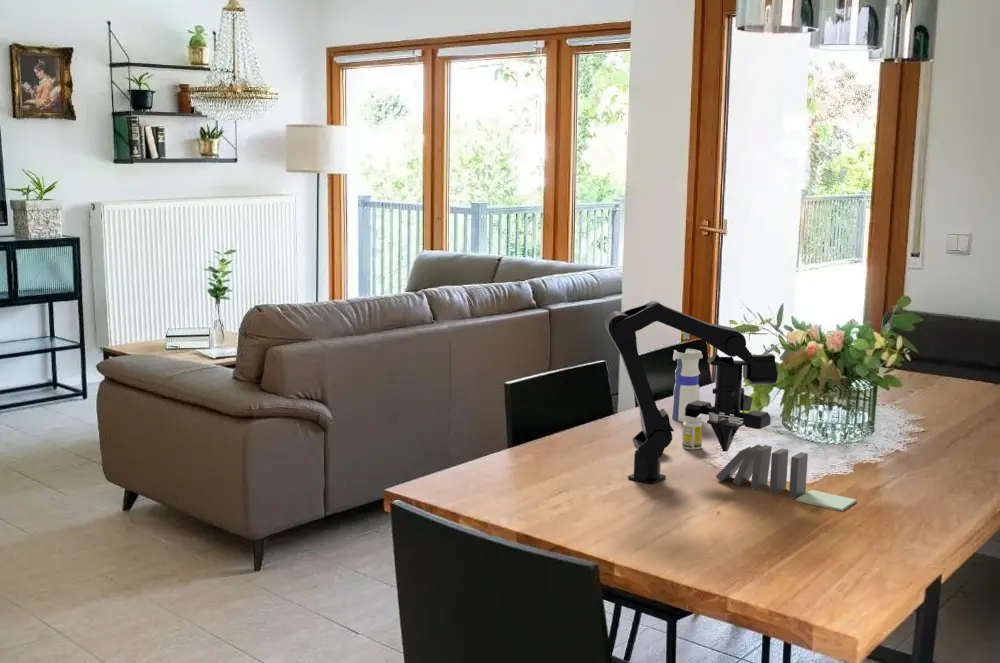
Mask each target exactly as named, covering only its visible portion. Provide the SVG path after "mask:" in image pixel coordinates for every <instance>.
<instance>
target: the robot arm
mask: <svg viewBox="0 0 1000 663" xmlns="http://www.w3.org/2000/svg"><path fill="white" fill-rule="evenodd" d="M656 322H659V323H661V324H664V325H666V326H669V327H671V328H673V329H676V330H679V331H681V332H685V333H688V334H690V335H691V336H693V337H696V338H698V339H700V340H703V341H704V342H706V343H708V345H711V346H712V347H714V348H715V349H717V350H718V351H720V352H721V353H723V354H725V355H726V356H719V354H718V353H716V352H714V353H713V355H712V356H710V357H709V358H708V359H707V363H708V364H709V365H711V366H716V368H715V370H716V372H715V387H714V388H712V394H714V405H713V406H712V404H711V402H709V401H702V400H699V401H698V400H697V401H694V402H691V403H689V404H687V405H686V407H685V416H689V417H694V418H696V417H698V416H699V415H706V416H708V420H707V421H706V424H709V425H710V427H711V428H712V430H713V432H714V434H715V436H716V438H717V441H718V443H719V446H720V448H721V450H722V452H725V453H727V452H728V451H729V449H730V447H731V444H732V442H733V440H734V438H735V435H736V434H737V432H738V430H739V429H740V427H743V426H745V427H746V428H749V429H755V430H761V429H764V428H766V427H768V426H770V425H771V423H772V422H771V421H772V420H771V419H772V418H771V415H770V414H769V412H767V411H761V410H755V409H754V410H751V409H752V403H753V399H754V398H753V397H752V396H750V395H747V394H745V388H744V387H742V383H743V379H744V380H745V381H747V383H748V385H776V384H777V381H778V377H779V376H778V374H779V373H778V367H777V363H776V355H775V354H773V353H766V354H752V352H750V351H749V349H748V348H747V340H746V337H745V335H743V333H741V332H739V331H738V330H737V329H735V328H733V327H732V326H726V325H721V324H715V323H709V322H706V321H703V320H700V319H698V318H696V317H693V316H690V315H688V314H685V313H683V312H681V311H678V310H675V309H673V308H670V307H669V306H666V305H664V304H662V303H660V302H659V301H656V300H651V301H649V302H648V303H645V304H642V305H639V306H637V307H636V306H635V307H633V308H630V309H627V310H624V311H621V310H616V311H612V312H610V313H609V314H608V315H607V317H606V319H605V321H604V326H605V329H606V331H607V333H608V335H609V337H610V339H611V340H612V343H613V344H614V345H615V347H616V349H617V350H618V352H619V354H620V357H621V359H622V362H623V365H624V368H625V371H626V375H627V376H628V380H629V383H630V386H631V388H632V391H633V393H634V396H635V399H636V403H637V404H638V405H637V406H638V407H639V408H638V409H639V415H640V416H639V417H640V419H639V420H640V425H641V430H640V431H639V432H638V433H637V434H636V435H635V436H634V437H632V443H633V446H634V448H636V450H635V451H634V454H633V455H634V458H633V459H634V462H633V473H632V474H630V475H627V479H629V480H633V481H636V482H641V483H645V484H651V485H652V484H655V483H657V482H659V481H662V480H664V479H665V478H667V475H664V474H661V462H662V461H661V460H662V455H663V454H664V451H665V449H666V448H667V447H669V445H671V443H672V441H673V433H672V432H675V430H674V428H673V427H672V425H671V423H670V417H669V414H668V413H667V411H666V410H665V408H660V409H659V408H658V407H657V404H656V401H655V398H654V394H653V392H652V389H651V387H650V383H649V381H648V378H647V375H646V374H647V373H646V372H645V368H644V366H643V362H642V361H641V357H640V355H639V352H638V344H637V343H638V341H637V335H636V334H637V333H636V332H638V331H640V330H642V329H644V328H646V327H648V326H649V325H652V324H653V323H656ZM690 335H689V336H690ZM735 357H738V358H739V359H741V360H735ZM742 411H747V413H746V412H742Z"/></svg>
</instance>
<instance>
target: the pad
mask: <svg viewBox="0 0 1000 663" xmlns="http://www.w3.org/2000/svg"><path fill="white" fill-rule="evenodd" d="M795 500H796V502H799V503H803V504H809V505H812V506H817V507H821V508H826V509H830V510H834V511H839V512H843V511H844V510H846V509H848V508H849V507H850V506H852V505H853V504H854V505H855V503H856V502H857V499H856V498H853V497H852V498H851V497H847V496H841V495H838V494H833V493H829V492H823V491H820V490H819V491H818V490H814V489H811V490H809V491H807V492H805V494H803V495H801V496H800V497H798V498H796V499H795Z"/></svg>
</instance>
